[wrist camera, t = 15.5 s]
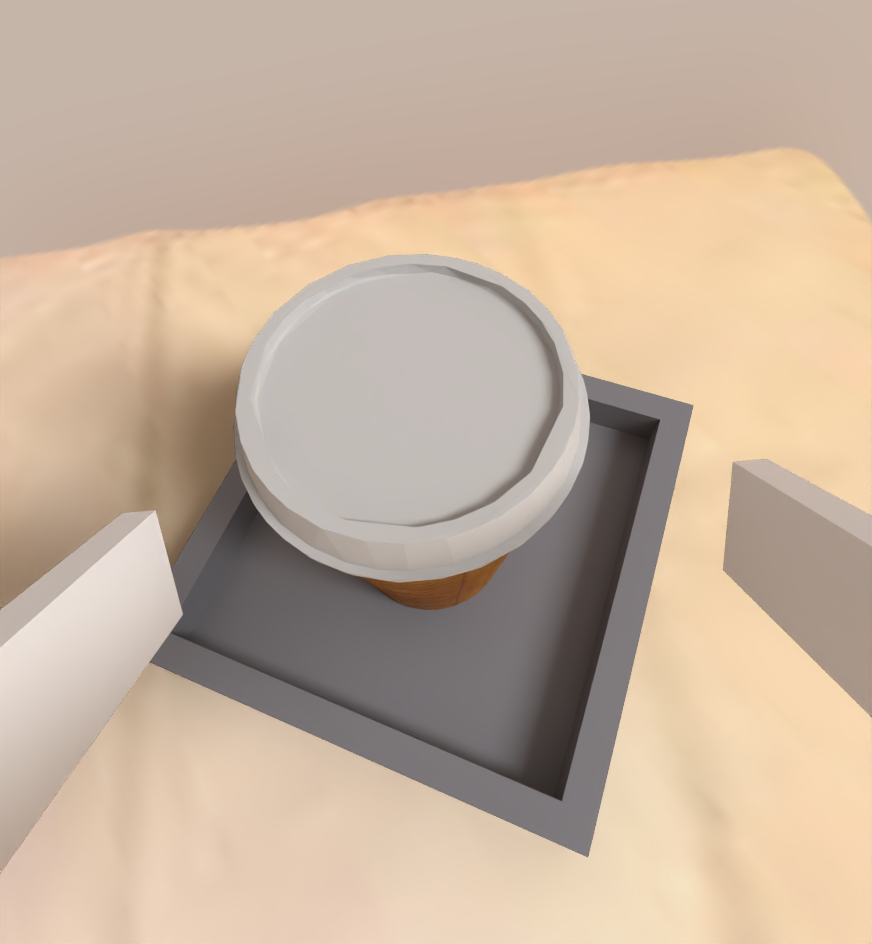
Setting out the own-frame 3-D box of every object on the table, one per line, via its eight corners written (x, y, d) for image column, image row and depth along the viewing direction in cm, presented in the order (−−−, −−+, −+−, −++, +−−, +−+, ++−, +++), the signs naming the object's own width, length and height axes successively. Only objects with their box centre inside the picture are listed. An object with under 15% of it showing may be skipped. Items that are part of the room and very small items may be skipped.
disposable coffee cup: (343, 435, 28) (266, 234, 17) (544, 451, 27) (598, 249, 16) (302, 637, 24) (164, 543, 13) (536, 663, 23) (602, 587, 12)
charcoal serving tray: (161, 661, 25) (123, 650, 22) (340, 341, 32) (328, 303, 29) (572, 843, 21) (588, 857, 18) (671, 438, 28) (693, 405, 25)
